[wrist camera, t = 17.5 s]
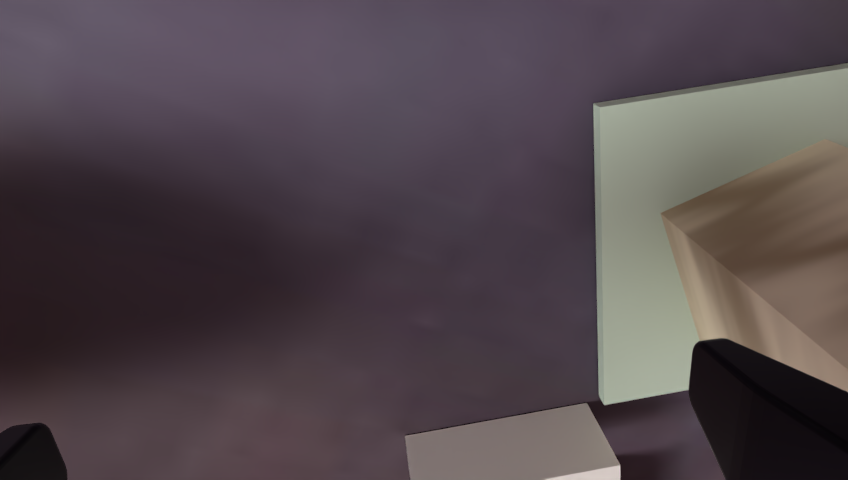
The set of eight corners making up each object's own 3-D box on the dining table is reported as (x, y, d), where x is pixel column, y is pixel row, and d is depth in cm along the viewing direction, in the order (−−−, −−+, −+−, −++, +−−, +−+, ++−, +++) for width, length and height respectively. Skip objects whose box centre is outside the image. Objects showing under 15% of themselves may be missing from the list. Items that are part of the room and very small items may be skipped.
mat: (598, 395, 26) (604, 405, 26) (593, 103, 21) (599, 107, 21) (880, 344, 27) (891, 352, 26) (940, 48, 22) (955, 50, 21)
